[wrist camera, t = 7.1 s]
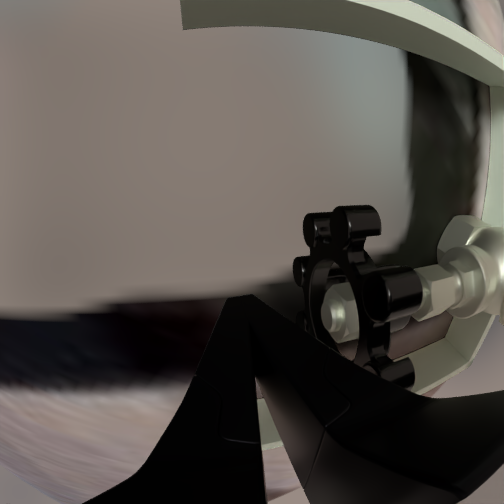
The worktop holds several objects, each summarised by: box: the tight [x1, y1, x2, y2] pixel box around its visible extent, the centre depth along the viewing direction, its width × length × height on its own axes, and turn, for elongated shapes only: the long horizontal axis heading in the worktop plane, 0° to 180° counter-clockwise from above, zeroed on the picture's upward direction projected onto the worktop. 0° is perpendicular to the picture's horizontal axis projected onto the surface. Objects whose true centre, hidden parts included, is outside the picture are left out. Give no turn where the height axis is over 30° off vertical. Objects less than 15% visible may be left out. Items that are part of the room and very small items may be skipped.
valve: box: [293, 205, 504, 391], centre depth 9 cm, size 7×7×12 cm
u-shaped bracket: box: [180, 0, 504, 451], centre depth 10 cm, size 19×16×3 cm
